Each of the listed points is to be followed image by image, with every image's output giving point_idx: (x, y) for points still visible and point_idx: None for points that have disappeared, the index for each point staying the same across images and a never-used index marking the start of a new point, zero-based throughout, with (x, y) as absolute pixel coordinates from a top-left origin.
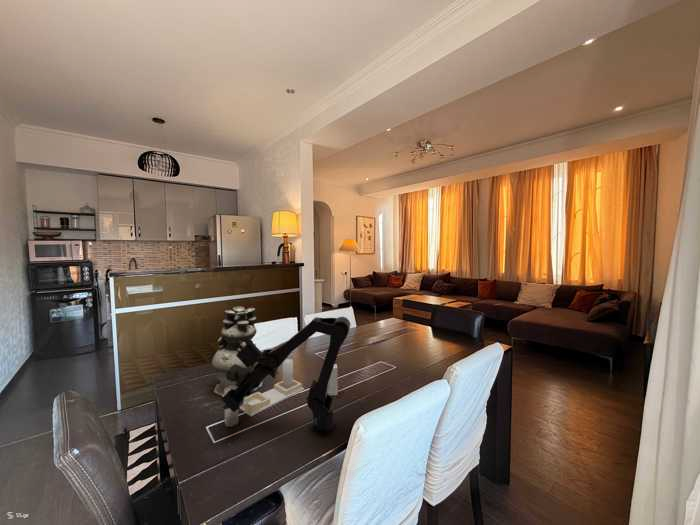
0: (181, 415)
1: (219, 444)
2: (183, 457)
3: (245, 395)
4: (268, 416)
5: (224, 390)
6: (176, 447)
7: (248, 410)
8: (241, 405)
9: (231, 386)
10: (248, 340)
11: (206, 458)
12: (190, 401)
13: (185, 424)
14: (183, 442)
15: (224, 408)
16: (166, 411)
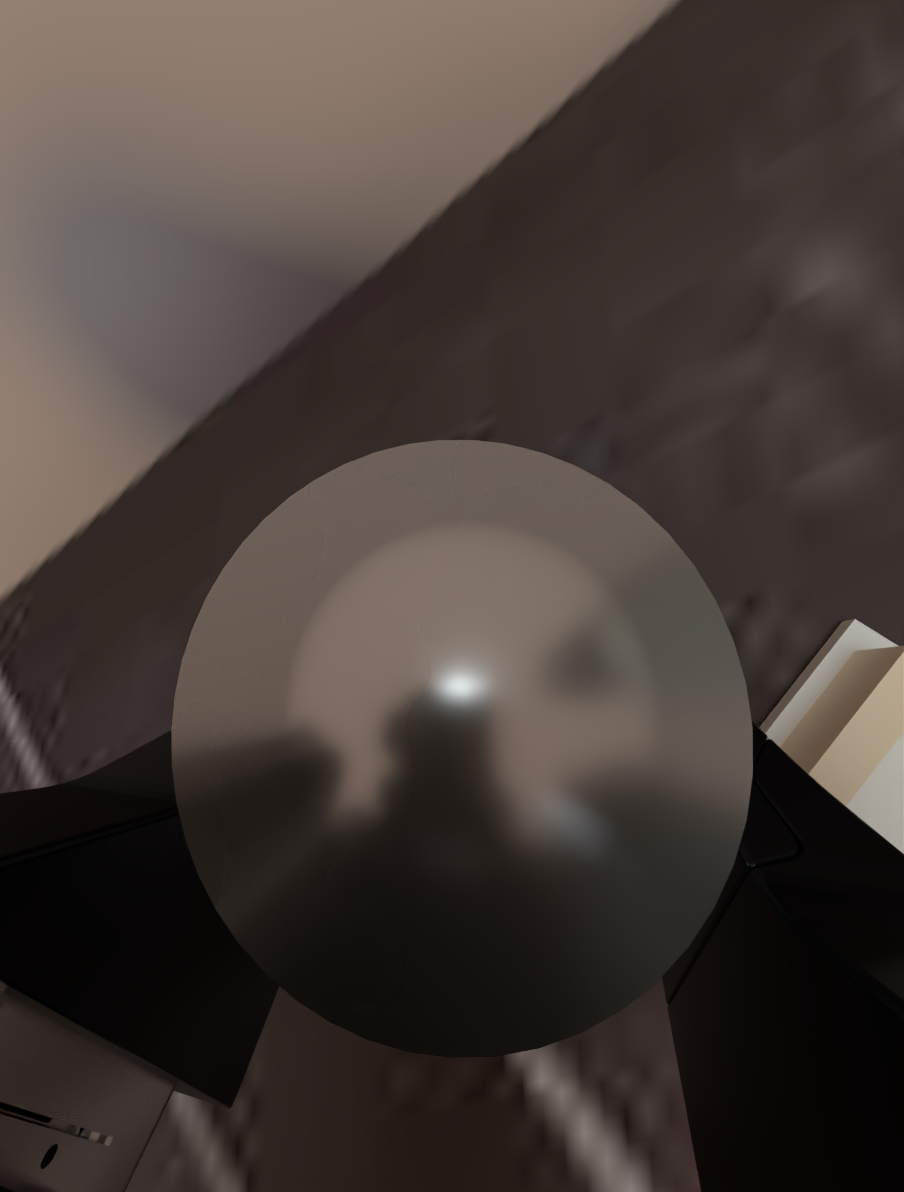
0: (601, 187)
1: None
2: (138, 518)
3: (672, 1030)
4: (665, 1134)
5: (282, 511)
6: (230, 413)
7: None
8: (830, 695)
9: (615, 654)
10: None
11: (109, 678)
12: (852, 95)
13: (478, 301)
14: (273, 425)
15: None
16: (649, 42)
